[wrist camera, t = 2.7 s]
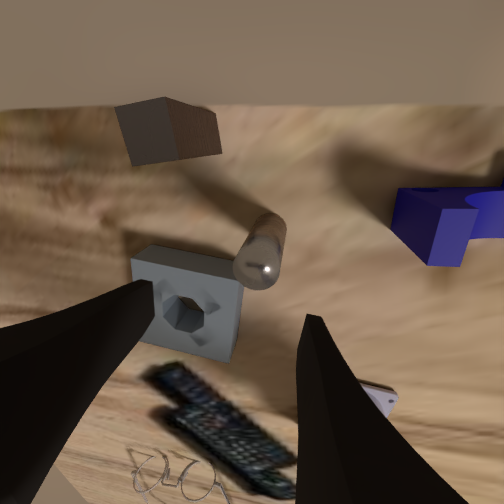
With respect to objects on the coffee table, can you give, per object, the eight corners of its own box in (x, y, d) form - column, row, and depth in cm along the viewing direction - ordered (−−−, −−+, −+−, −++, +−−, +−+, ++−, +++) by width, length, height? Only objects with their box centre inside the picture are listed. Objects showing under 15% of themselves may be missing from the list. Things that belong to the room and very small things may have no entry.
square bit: (222, 153, 18) (179, 159, 12) (189, 158, 18) (132, 166, 12) (215, 113, 17) (164, 96, 11) (181, 119, 17) (114, 107, 11)
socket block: (236, 340, 25) (229, 363, 22) (155, 320, 26) (138, 341, 23) (247, 263, 21) (239, 281, 19) (151, 244, 22) (130, 258, 20)
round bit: (283, 246, 20) (275, 294, 14) (252, 240, 20) (230, 284, 14) (289, 216, 19) (283, 253, 13) (256, 210, 19) (234, 243, 13)
